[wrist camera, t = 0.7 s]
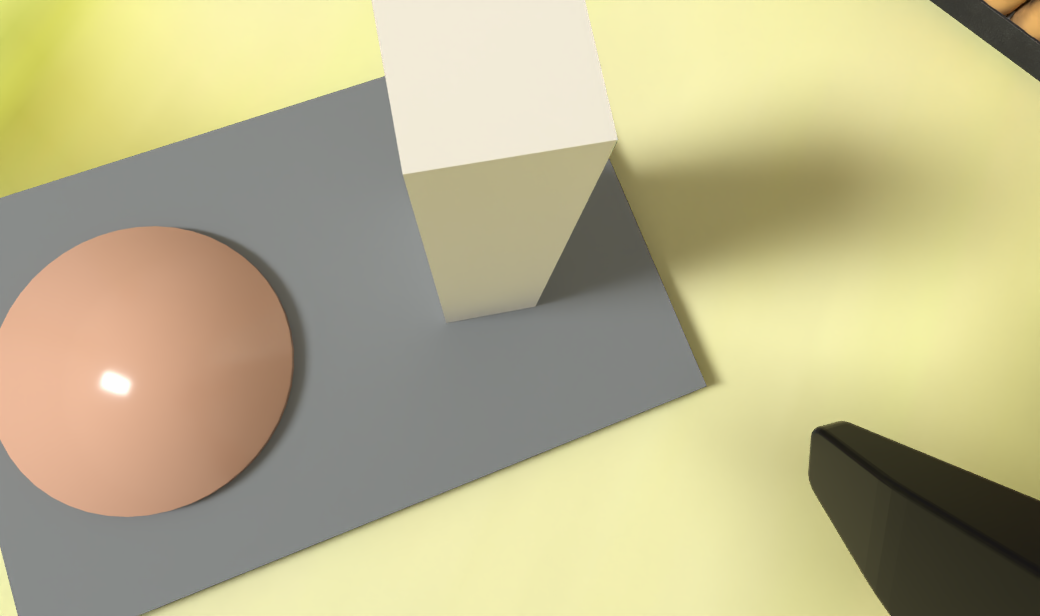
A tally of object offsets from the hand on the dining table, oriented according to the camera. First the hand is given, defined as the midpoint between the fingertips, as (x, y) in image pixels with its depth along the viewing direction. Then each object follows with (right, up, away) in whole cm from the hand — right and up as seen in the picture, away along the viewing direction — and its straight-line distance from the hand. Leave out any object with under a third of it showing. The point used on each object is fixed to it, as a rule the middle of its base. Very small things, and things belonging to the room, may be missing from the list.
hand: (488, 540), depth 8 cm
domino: (-1, +5, +14) cm, 15 cm away
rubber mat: (-6, +3, +14) cm, 15 cm away
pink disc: (-11, +1, +12) cm, 17 cm away
